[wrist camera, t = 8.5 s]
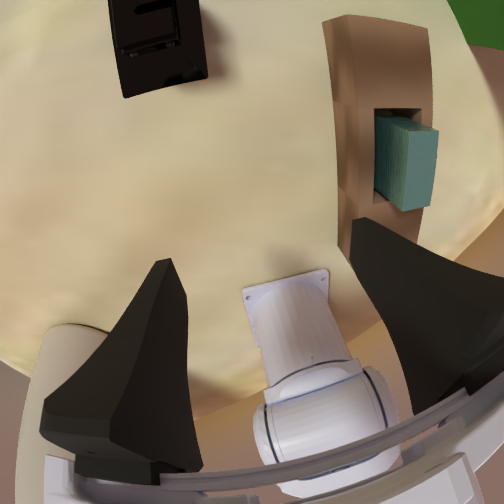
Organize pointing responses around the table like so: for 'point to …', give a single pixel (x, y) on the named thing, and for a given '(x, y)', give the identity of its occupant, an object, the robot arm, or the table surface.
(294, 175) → the table surface
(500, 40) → the hardback book
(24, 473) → the cylinder vase
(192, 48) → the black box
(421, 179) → the teal rectangular block
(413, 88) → the slotted beam
